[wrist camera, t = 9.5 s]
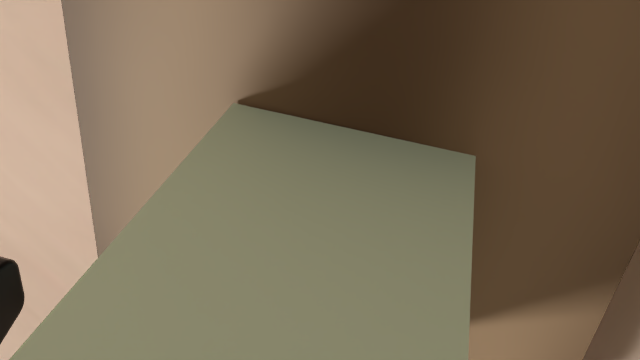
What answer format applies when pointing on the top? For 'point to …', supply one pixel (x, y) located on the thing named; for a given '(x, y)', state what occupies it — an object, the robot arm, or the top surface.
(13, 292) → the robot arm
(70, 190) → the top surface
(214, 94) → the walnut plinth
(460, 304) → the sage block
